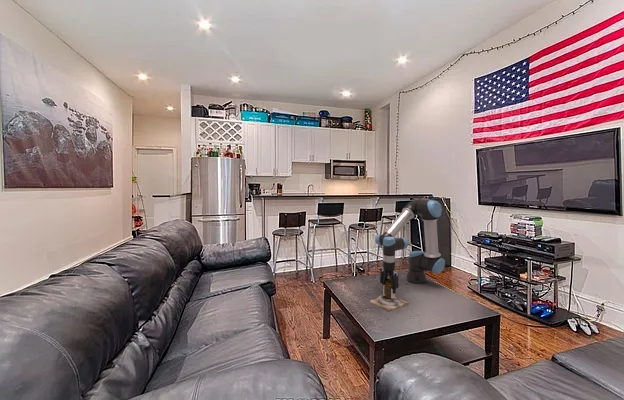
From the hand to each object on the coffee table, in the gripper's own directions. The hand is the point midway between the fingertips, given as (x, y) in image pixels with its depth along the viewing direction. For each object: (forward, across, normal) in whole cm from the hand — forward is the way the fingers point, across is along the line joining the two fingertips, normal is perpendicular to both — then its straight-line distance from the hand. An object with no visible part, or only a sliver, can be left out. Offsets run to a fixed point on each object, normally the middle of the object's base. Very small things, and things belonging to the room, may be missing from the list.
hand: (389, 296), depth 182 cm
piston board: (+4, 0, 0) cm, 4 cm away
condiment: (+1, 0, 0) cm, 1 cm away
